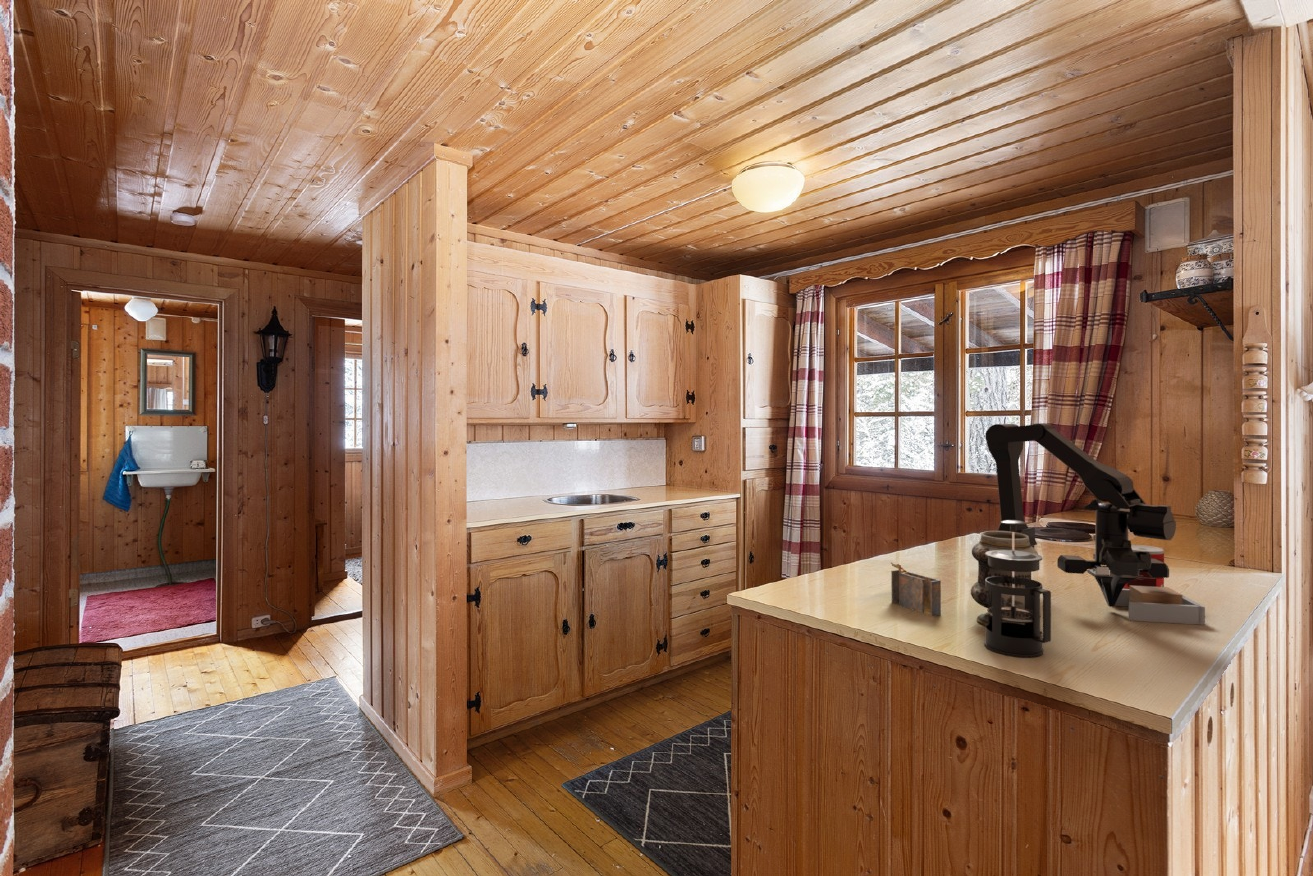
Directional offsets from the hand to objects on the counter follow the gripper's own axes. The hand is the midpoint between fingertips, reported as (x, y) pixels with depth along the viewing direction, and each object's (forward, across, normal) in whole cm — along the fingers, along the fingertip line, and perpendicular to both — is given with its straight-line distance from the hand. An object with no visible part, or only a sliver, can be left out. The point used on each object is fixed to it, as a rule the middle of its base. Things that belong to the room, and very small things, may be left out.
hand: (1110, 606), depth 137 cm
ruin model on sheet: (+2, -39, -6) cm, 40 cm away
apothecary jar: (+1, -23, -14) cm, 27 cm away
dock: (+1, +7, 0) cm, 7 cm away
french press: (+1, -25, -29) cm, 38 cm away
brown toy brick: (+1, +8, 0) cm, 8 cm away
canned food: (+1, +12, +15) cm, 19 cm away
